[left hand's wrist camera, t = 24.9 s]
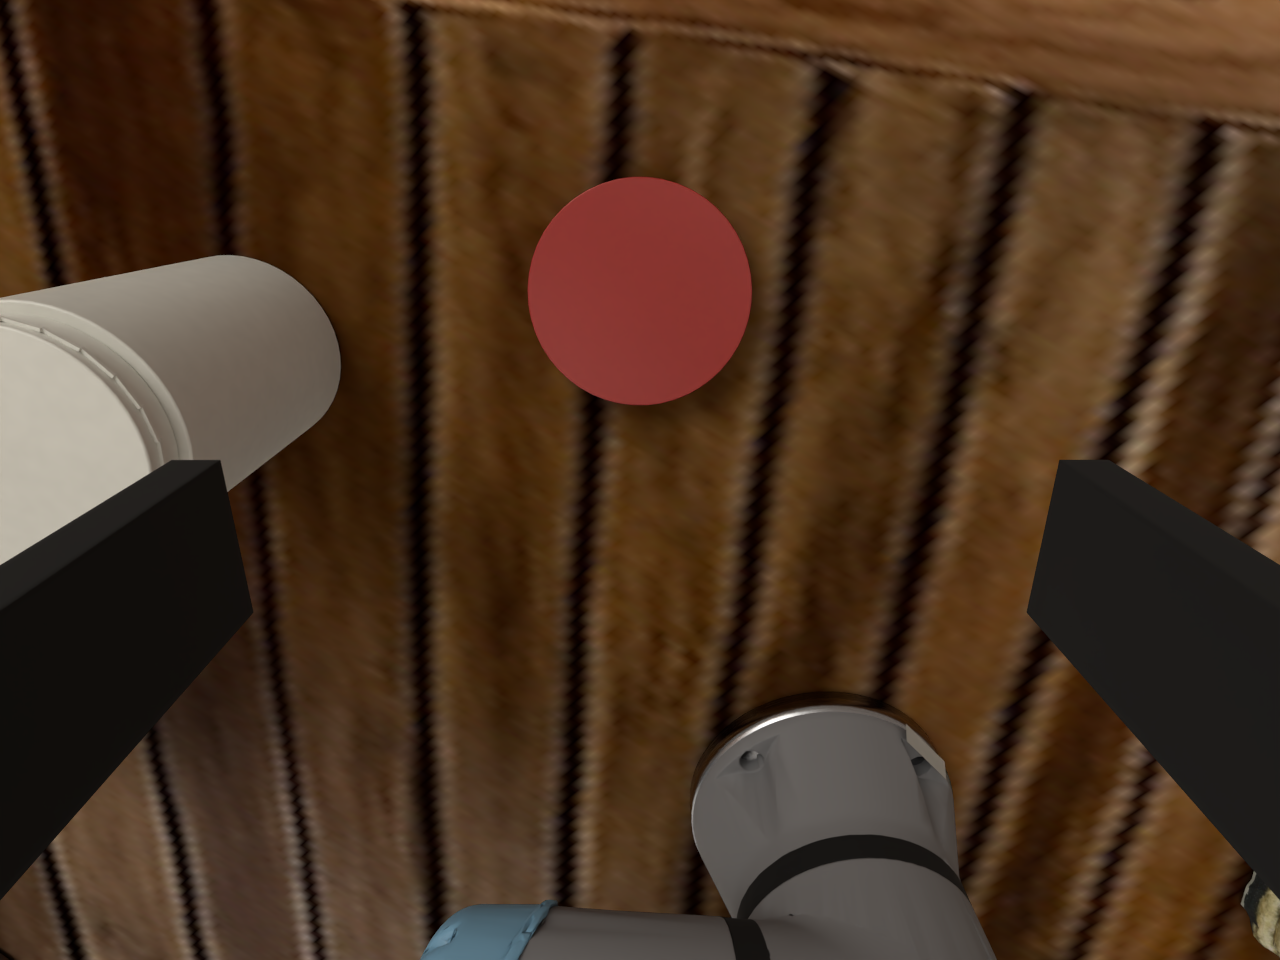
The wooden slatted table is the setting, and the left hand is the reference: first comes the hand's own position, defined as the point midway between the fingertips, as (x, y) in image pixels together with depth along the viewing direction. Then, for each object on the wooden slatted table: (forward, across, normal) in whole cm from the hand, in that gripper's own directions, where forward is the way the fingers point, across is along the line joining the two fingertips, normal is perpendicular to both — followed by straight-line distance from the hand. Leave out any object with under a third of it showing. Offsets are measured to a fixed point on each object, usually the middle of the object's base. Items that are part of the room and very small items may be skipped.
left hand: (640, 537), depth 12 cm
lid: (+24, 0, 0) cm, 24 cm away
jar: (+25, +19, +3) cm, 32 cm away
